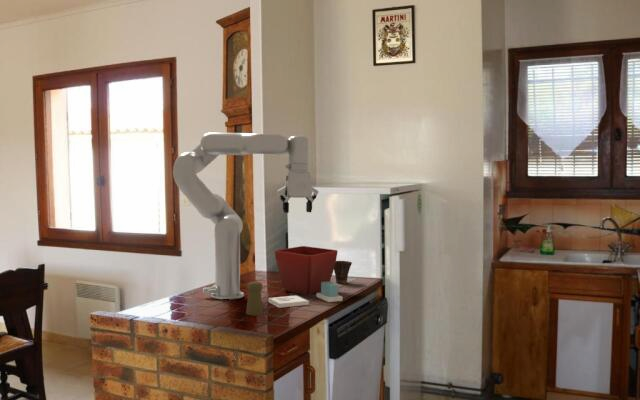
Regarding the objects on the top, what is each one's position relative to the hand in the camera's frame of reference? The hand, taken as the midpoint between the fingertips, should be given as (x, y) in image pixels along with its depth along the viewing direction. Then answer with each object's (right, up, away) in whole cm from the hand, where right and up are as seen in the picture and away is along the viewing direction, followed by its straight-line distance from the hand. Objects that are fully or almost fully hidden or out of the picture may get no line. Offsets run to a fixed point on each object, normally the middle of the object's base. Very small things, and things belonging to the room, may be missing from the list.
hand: (297, 212), depth 227 cm
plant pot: (+3, -33, +15) cm, 36 cm away
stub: (+12, -34, -1) cm, 36 cm away
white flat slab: (-3, -34, -9) cm, 35 cm away
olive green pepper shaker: (-14, -35, -24) cm, 45 cm away
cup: (+18, -32, +33) cm, 49 cm away
